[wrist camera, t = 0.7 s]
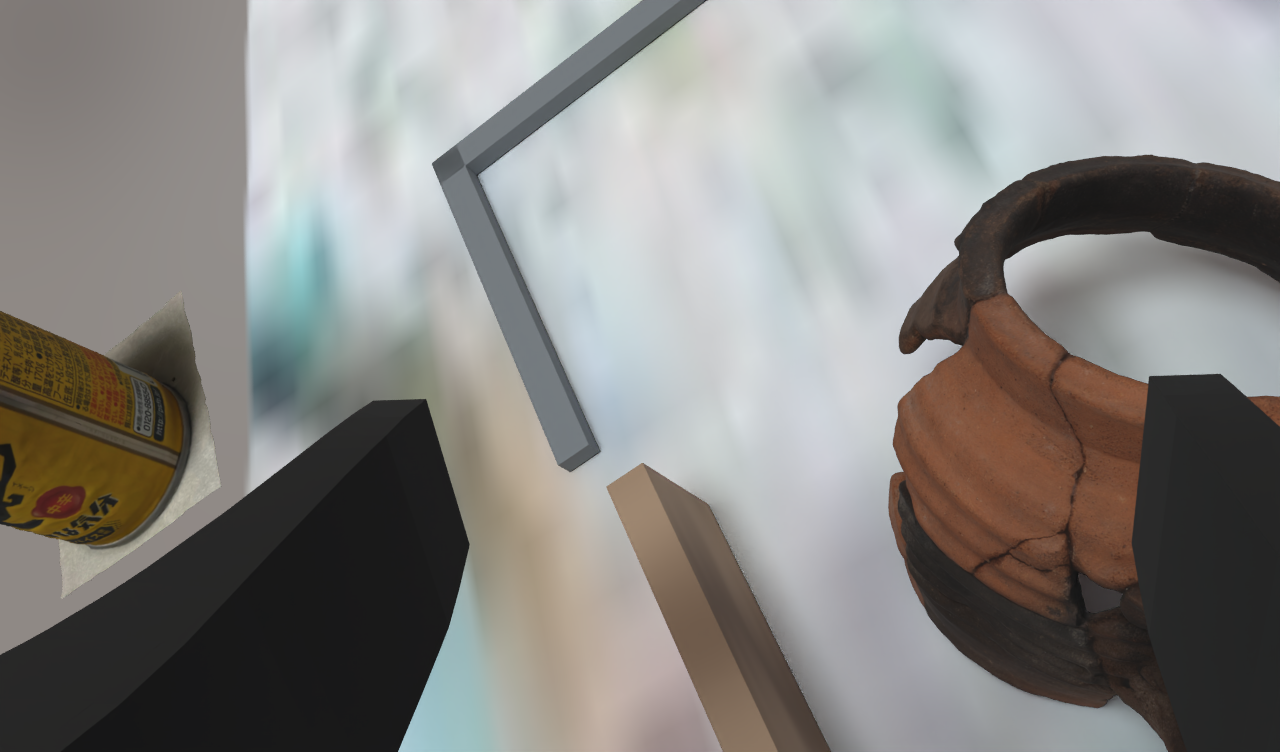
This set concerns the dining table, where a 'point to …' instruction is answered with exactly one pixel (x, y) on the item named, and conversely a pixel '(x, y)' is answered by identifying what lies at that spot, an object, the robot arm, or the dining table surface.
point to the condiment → (102, 439)
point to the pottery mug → (1049, 435)
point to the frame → (485, 239)
